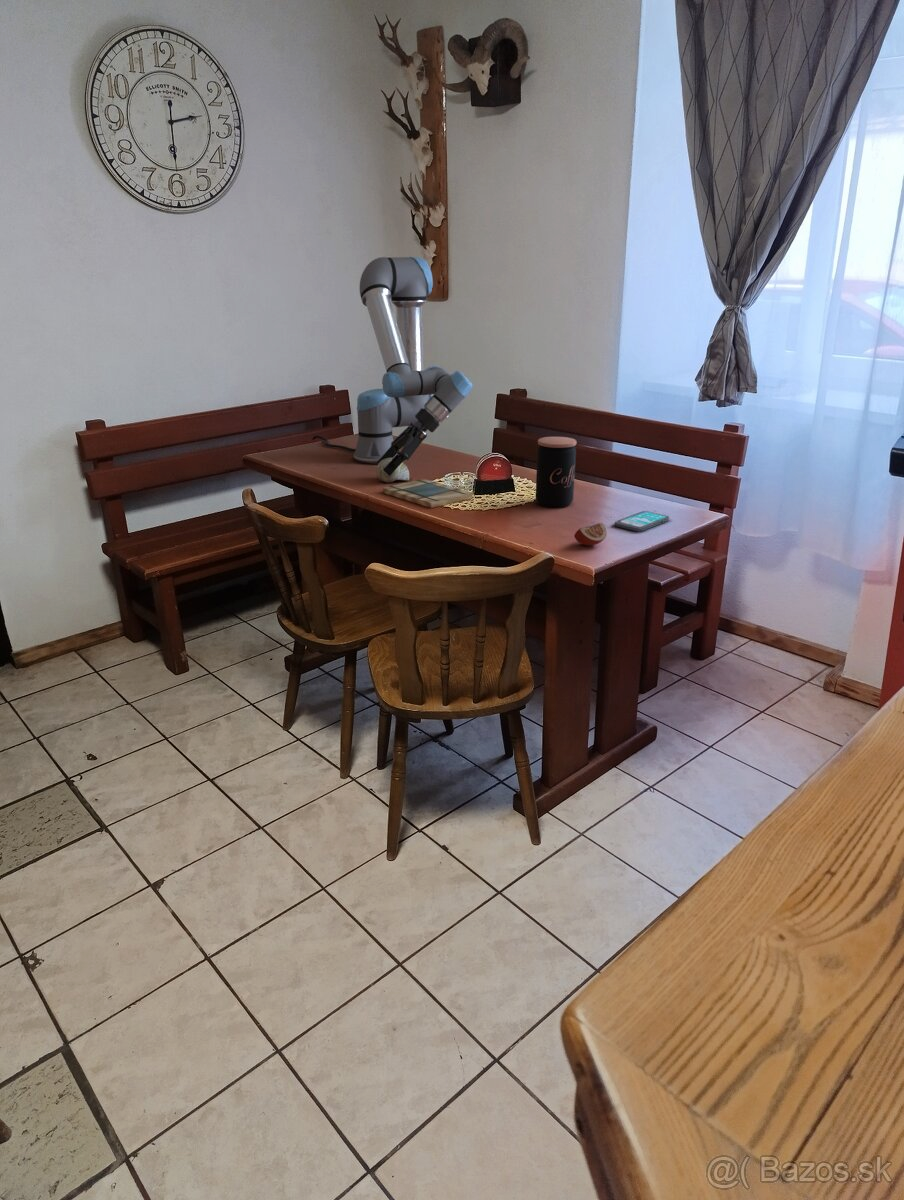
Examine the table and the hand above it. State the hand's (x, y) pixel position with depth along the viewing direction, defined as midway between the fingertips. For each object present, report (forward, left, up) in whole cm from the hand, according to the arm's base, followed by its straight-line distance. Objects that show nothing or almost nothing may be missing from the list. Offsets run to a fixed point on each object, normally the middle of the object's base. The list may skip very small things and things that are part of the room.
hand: (383, 469), depth 253 cm
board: (+21, 0, -4) cm, 22 cm away
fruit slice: (+82, 0, -4) cm, 82 cm away
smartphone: (+80, +24, -4) cm, 84 cm away
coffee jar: (+52, +21, -4) cm, 57 cm away
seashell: (+1, +3, -4) cm, 5 cm away
